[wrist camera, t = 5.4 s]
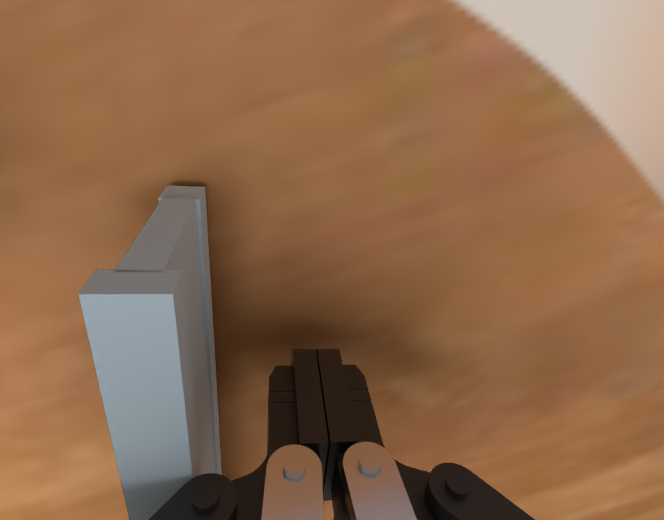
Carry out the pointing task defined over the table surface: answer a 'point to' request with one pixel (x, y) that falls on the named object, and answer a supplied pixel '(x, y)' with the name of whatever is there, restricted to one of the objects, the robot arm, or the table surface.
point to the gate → (158, 353)
